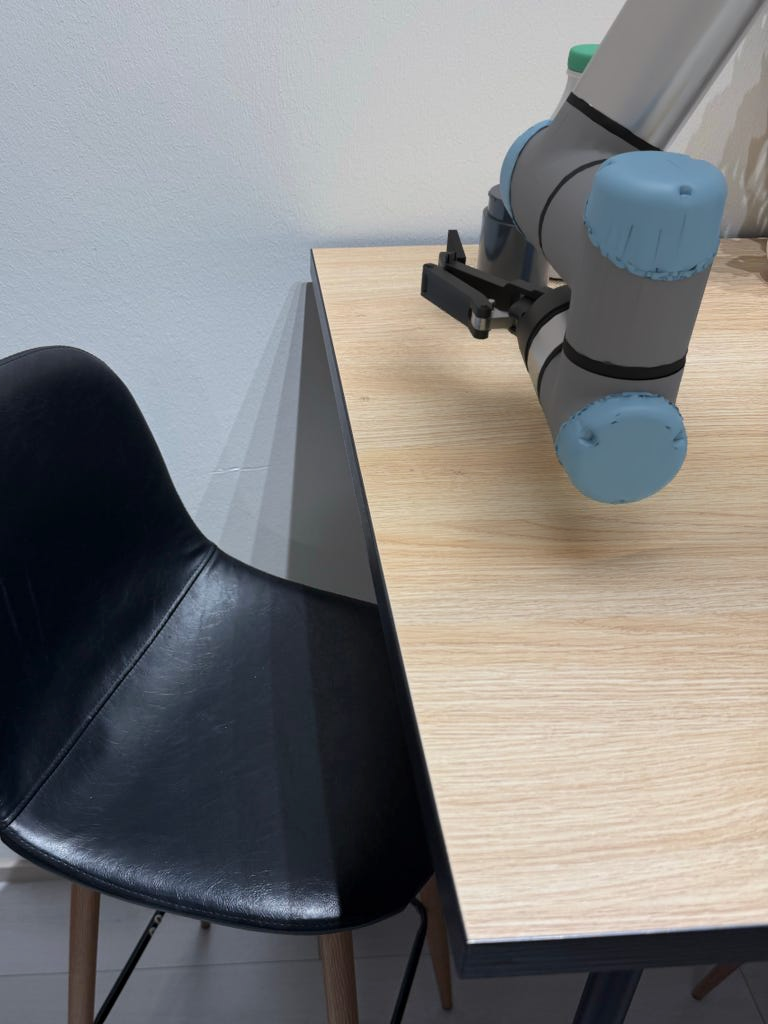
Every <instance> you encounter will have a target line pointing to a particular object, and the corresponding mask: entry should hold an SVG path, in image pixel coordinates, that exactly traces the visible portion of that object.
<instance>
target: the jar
mask: <svg viewBox="0 0 768 1024" xmlns="http://www.w3.org/2000/svg"><path fill="white" fill-rule="evenodd" d="M487 191H488V192H487V197H488V199H487V201H488V202H487V205H486V206H485V207H484V208H483V209H482V213H481V222H480V232H479V241H478V247H477V255H476V256H477V257H476V264H475V265H476V266H475V268H476V269H478V270H481V271H483V272H486V273H488V274H491V275H494V276H496V277H499V278H501V279H504V280H506V281H509V282H512V281H515V280H517V279H521V280H523V281H526V282H528V283H531V284H534V285H536V286H539V287H542V286H548V287H549V283H550V277H549V276H550V270H551V265H550V264H549V262H548V261H547V260H546V258H545V257H544V256H543V255H542V254H541V253H540V252H539V251H538V250H537V249H536V248H535V247H534V245H533V244H531V243H529V242H528V241H527V240H526V239H525V237H524V236H523V235H522V234H521V233H520V232H519V231H518V230H517V228H516V225H515V224H514V223H513V220H512V218H511V216H510V214H509V213H508V211H507V209H506V207H505V206H504V203H503V201H502V198H501V193H500V183H498V184H495V185H493V186H492V187H491V188H490V189H489V190H487ZM523 296H524V295H522V294H521V297H520V299H521V298H522V297H523Z"/></svg>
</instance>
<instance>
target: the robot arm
mask: <svg viewBox="0 0 768 1024" xmlns="http://www.w3.org/2000/svg"><path fill="white" fill-rule="evenodd" d="M767 6H768V0H625V2H624V4H623V5H622V7H621V8H620V10H619V12H618V14H617V15H616V17H615V19H613V20H614V21H613V22H612V23H611V25H610V27H609V28H608V30H607V32H606V34H605V35H604V37H603V38H602V40H601V41H600V43H599V44H600V45H599V47H598V48H597V50H596V51H595V53H594V55H593V56H592V58H591V60H590V61H589V63H588V65H587V66H586V68H585V70H584V71H583V73H582V75H581V76H580V78H579V79H578V81H577V83H576V84H575V86H574V88H573V89H572V91H571V93H570V94H569V96H568V98H567V99H566V101H565V102H564V104H563V106H562V107H561V109H560V110H559V112H558V113H557V115H556V117H555V118H553V119H550V118H549V119H548V118H547V119H544V120H542V121H539V122H537V123H535V124H534V125H533V126H530V127H529V128H528V129H526V130H525V131H524V132H522V134H520V135H519V136H518V137H517V138H516V139H515V140H514V141H513V143H512V144H511V145H510V147H509V148H508V151H507V152H506V154H505V156H504V158H503V161H502V165H501V168H500V174H499V184H500V193H501V198H502V201H503V203H504V206H505V207H506V209H507V211H508V213H509V214H510V216H511V218H512V220H513V223H514V224H515V225H516V228H517V230H518V231H519V232H520V233H521V234H522V235H523V236H524V237H525V239H526V240H527V241H528V242H529V243H531V244H533V245H534V247H535V248H536V249H537V250H538V251H539V252H540V253H541V254H542V255H543V256H544V257H545V258H546V260H547V261H548V262H549V264H550V265H551V266H552V267H553V269H554V270H555V271H556V272H557V273H558V275H559V276H560V277H561V278H562V279H561V280H562V281H563V282H564V283H565V284H563V285H560V286H557V287H554V288H553V287H550V286H549V285H548V286H542V287H539V286H536V285H534V284H531V283H528V282H526V281H523V280H521V279H517V280H515V281H512V282H509V281H506V280H504V279H501V278H499V277H496V276H494V275H491V274H488V273H486V272H483V271H481V270H478V269H476V267H474V266H470V265H468V264H467V256H466V253H465V249H464V246H463V243H462V240H461V237H460V234H459V232H458V229H448V230H447V240H446V250H445V251H440V252H439V253H438V259H437V260H438V261H437V264H436V263H433V262H427V263H424V264H422V271H421V280H420V281H421V282H420V294H419V295H420V296H421V297H422V298H424V299H425V300H427V301H428V302H429V303H431V304H433V305H434V306H435V307H437V308H438V309H440V311H441V310H442V312H444V313H446V314H447V315H449V316H450V317H452V318H453V319H455V320H456V321H457V322H459V323H460V324H462V325H463V326H465V327H466V328H467V329H468V331H469V332H470V335H471V336H472V338H474V339H476V340H483V341H484V340H486V339H488V338H489V335H490V332H491V331H492V330H499V329H507V331H508V332H509V333H510V334H511V335H513V336H514V337H516V339H517V344H518V348H519V352H520V354H521V357H522V360H523V363H524V365H525V368H526V371H527V374H528V376H529V378H530V381H531V383H532V386H533V389H534V391H535V395H536V396H537V399H538V401H539V405H540V407H541V410H542V412H543V415H544V417H545V420H546V424H547V426H548V429H549V432H550V433H549V434H550V436H551V439H552V441H553V450H554V452H555V453H554V454H555V456H556V458H557V460H558V463H559V464H560V465H561V466H562V467H563V469H564V471H565V473H566V475H567V477H568V478H569V480H570V482H571V484H572V485H573V486H574V487H575V488H576V489H577V491H579V493H581V494H582V495H583V496H584V497H586V498H588V499H591V500H593V501H595V502H598V503H602V504H611V505H623V504H632V503H635V502H636V503H637V502H639V501H642V500H645V499H647V498H649V497H651V496H653V495H655V494H657V493H659V492H660V491H661V490H663V489H664V488H665V487H666V486H668V485H669V483H671V482H672V481H673V479H674V478H675V477H676V476H677V475H678V473H679V472H680V470H681V468H682V466H683V465H684V462H685V461H686V458H687V452H688V446H689V445H688V434H687V431H686V428H685V424H684V422H683V421H684V417H683V414H682V413H681V412H680V408H679V407H678V406H677V403H676V402H677V398H678V394H679V391H680V386H681V384H682V383H681V382H682V379H683V376H684V372H685V368H686V362H687V355H688V352H689V347H690V342H691V339H692V335H693V332H694V329H695V325H696V322H697V320H698V319H697V318H698V315H699V311H700V308H701V306H702V305H701V304H702V301H703V297H704V294H705V291H706V287H707V284H708V281H709V277H710V274H711V271H712V267H713V264H714V260H715V257H716V256H717V255H718V251H719V247H720V244H721V240H720V237H721V235H722V231H721V227H722V222H723V218H724V213H725V207H726V202H727V198H728V193H729V190H728V183H727V179H726V177H725V175H724V174H723V172H722V171H721V170H720V169H719V168H718V167H717V166H716V165H714V164H712V163H711V162H709V161H707V160H705V159H697V158H693V157H691V156H690V155H688V154H684V153H679V152H674V151H673V152H672V151H669V149H670V148H671V146H672V145H673V143H674V142H675V140H676V139H677V137H678V136H679V135H680V133H681V132H682V130H683V129H684V127H685V126H686V124H687V123H688V122H689V120H690V119H691V117H692V115H693V114H694V113H695V111H696V110H697V108H698V107H699V105H700V104H701V103H702V101H703V99H705V97H706V95H707V94H708V92H709V91H710V90H711V88H712V87H713V85H714V83H715V82H716V81H717V79H718V78H719V76H720V75H721V73H722V72H723V70H724V69H725V67H726V66H727V64H728V63H729V62H730V61H731V58H732V57H733V56H734V54H735V53H736V51H737V50H738V49H739V47H740V45H741V44H742V43H743V41H744V40H745V38H746V37H747V35H748V34H749V33H750V31H751V29H753V27H754V26H755V23H756V22H757V21H758V19H759V18H760V16H761V15H762V13H763V12H764V10H765V9H766V8H767ZM521 294H522V295H524V296H523V297H522V298H521V299H520V297H521Z"/></svg>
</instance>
